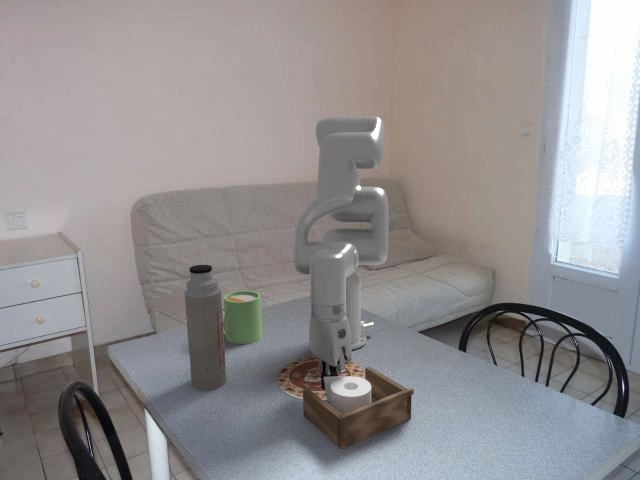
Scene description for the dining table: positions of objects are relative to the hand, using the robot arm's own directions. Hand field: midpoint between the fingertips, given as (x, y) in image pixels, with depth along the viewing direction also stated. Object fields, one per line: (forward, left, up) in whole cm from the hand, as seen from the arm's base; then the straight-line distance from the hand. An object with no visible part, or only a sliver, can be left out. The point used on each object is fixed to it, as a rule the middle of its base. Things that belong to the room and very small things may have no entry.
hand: (329, 388), depth 111 cm
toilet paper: (0, +7, -2) cm, 7 cm away
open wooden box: (0, +9, -2) cm, 9 cm away
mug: (+2, -41, -2) cm, 41 cm away
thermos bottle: (+19, -22, -2) cm, 29 cm away
